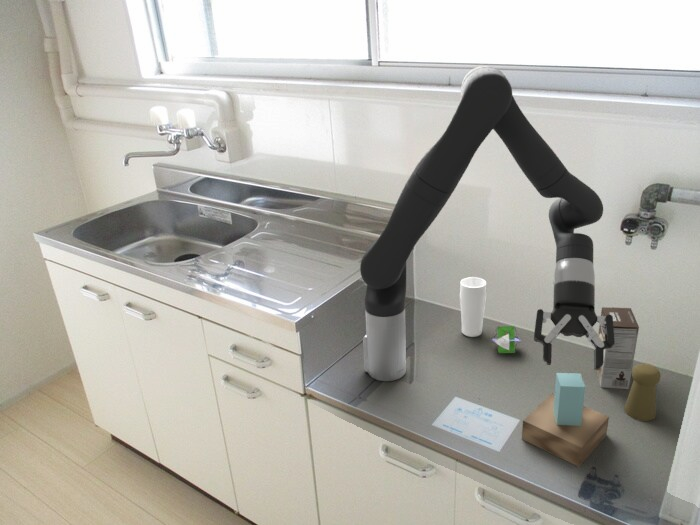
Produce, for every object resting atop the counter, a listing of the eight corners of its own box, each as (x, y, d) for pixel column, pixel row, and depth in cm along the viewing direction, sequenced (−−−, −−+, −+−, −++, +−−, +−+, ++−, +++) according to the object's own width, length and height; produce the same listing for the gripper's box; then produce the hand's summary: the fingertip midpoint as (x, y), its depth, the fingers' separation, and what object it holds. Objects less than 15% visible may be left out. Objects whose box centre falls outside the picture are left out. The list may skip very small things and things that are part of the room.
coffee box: (593, 365, 142) (600, 305, 135) (621, 367, 140) (630, 307, 134) (600, 388, 133) (608, 325, 127) (630, 390, 132) (640, 327, 126)
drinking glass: (465, 341, 155) (467, 289, 149) (454, 329, 161) (455, 279, 155) (489, 336, 156) (491, 285, 150) (477, 324, 162) (479, 275, 156)
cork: (629, 399, 129) (636, 356, 125) (659, 409, 125) (667, 365, 121) (620, 413, 125) (627, 369, 120) (651, 424, 121) (659, 379, 117)
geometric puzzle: (488, 333, 154) (492, 320, 147) (515, 332, 153) (520, 319, 146) (491, 359, 150) (496, 347, 143) (519, 358, 150) (525, 346, 143)
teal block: (556, 424, 116) (560, 386, 112) (553, 410, 120) (556, 372, 116) (580, 425, 115) (585, 387, 111) (576, 411, 119) (580, 373, 116)
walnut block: (521, 440, 119) (523, 420, 117) (550, 412, 127) (552, 393, 125) (578, 468, 111) (581, 447, 109) (606, 437, 119) (609, 416, 117)
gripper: (537, 276, 115) (534, 358, 110) (616, 281, 112) (617, 366, 106) (535, 289, 122) (531, 367, 116) (609, 294, 118) (609, 374, 113)
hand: (572, 366), depth 111 cm, fingers open, 8 cm apart
